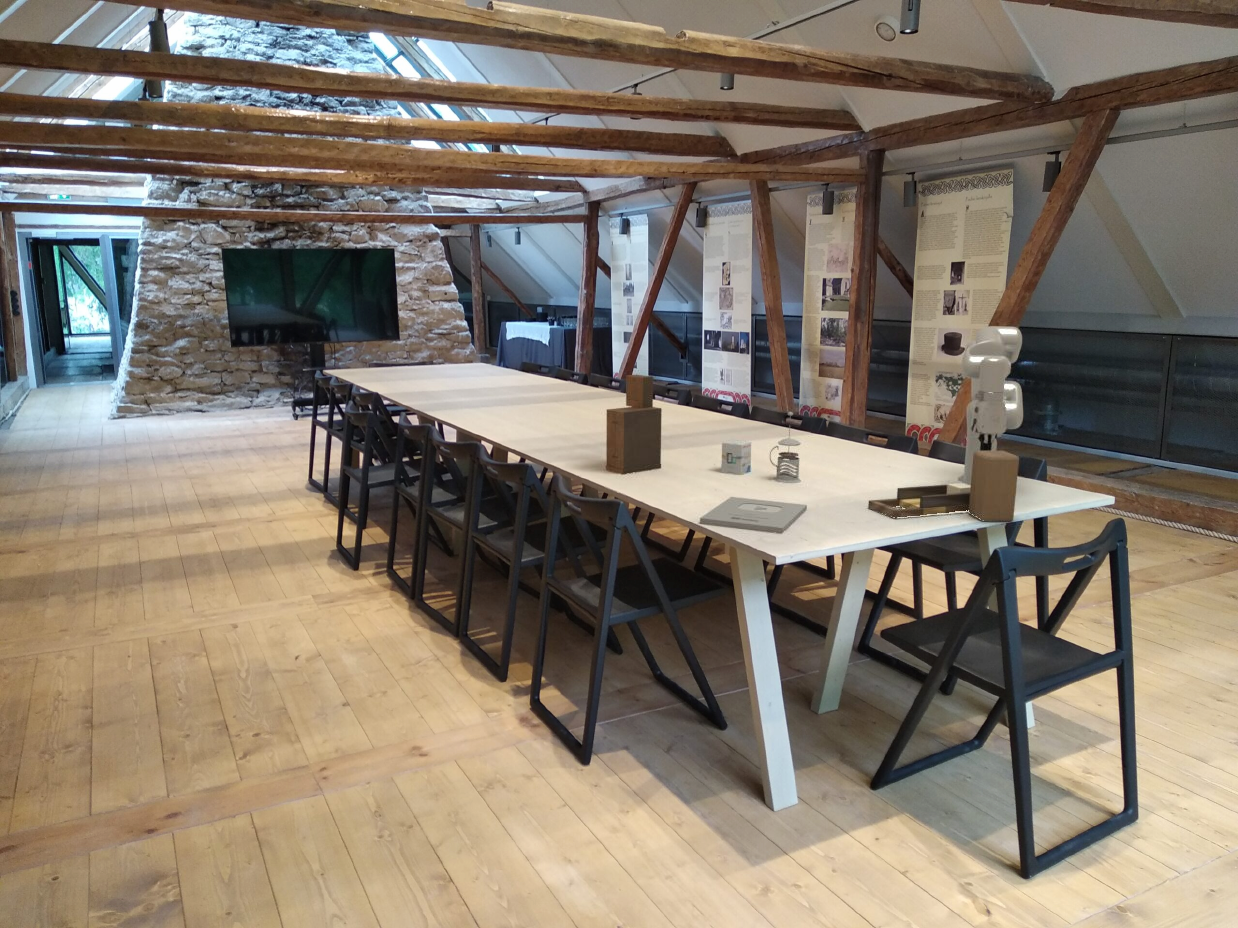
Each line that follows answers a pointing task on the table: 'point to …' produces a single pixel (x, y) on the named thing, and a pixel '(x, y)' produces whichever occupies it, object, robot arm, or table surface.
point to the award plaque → (754, 514)
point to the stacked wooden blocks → (634, 430)
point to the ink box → (736, 457)
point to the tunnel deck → (922, 501)
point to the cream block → (958, 488)
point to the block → (993, 485)
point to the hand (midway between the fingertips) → (985, 454)
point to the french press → (787, 461)
